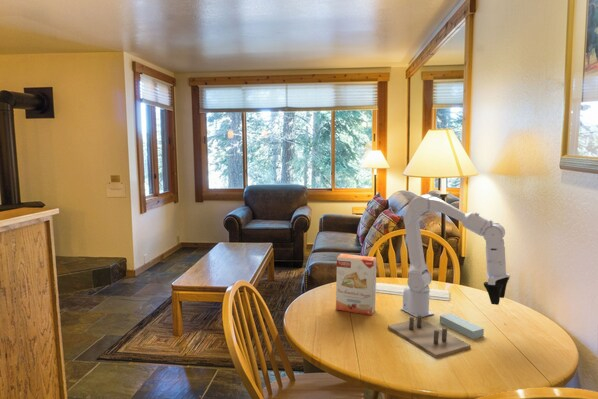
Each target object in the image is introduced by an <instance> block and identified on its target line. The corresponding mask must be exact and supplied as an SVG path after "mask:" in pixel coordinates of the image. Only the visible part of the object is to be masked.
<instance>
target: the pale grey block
mask: <svg viewBox="0 0 598 399" xmlns="http://www.w3.org/2000/svg"><path fill="white" fill-rule="evenodd" d="M439 323H440V324H442V325H443V326H445V327H447V328H449V329H452V330H454V331H455V332H457V333H460V334H461V335H463V336H465V337H467V338H469V339H470V340H476V339H479V338H482V337H484V331H485V328H484V327H482V326H480V325H477V324H475V323H473V322H471V321H469V320H467V319H464V318H462V317H459V316H457V315H455V314H453V313H451V312H449V313H445V314H441V315H439Z"/></svg>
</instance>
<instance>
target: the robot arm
mask: <svg viewBox="0 0 598 399" xmlns="http://www.w3.org/2000/svg"><path fill="white" fill-rule="evenodd" d="M439 212H440V213H441V214H443V215H446V216H448V217H450V218H453V219H455V220H457V221H459V222H461V224H462V226H463V228H465V229H467V230H469V231H470V232H473V233H474V234H475V235H478V236H480V237H483V239H484V240H485V259H486V260H485V261H486V263H485V264H486V273H485V276H486V278H487V281H484V282H483V286H484V288H485V290H486V292H487V294H488V297H489V300H490V303H491V305H496V306H497V305H498V306H499V304H500V300H501V299H504V298H505V296H506V288H507V285H508V283H509V280H510V277H511V274H510V273H507V265H506V263H507V262H506V248H505V247H506V246H505V239H504V237H505V236H506V230H505V227H504V226H502V225H501V224H500V223H498V222H494V220H493V219H492V220H491V219H490V220H488V219H487V218H484V217H482V216H480V213H478V212H468V213H466V212H464V211H462V210H461V209H459V208H457V207H455V206H453V205H452V204H450V203H448V202H447V201H444V200H443V199H440V198H439V197H437V196H433V195H431V194H429V193H426V194H422V195H417V196H414V198H412V199H411V200H410V201H409V202H408V207H407V209H406V211H405V214H404V216H403V222H404V223H403V224H404V230H405V236H406V243H407V244H406V245H407V250H408V251H407V252H408V258H409V263H410V265H409V269H408V278H407V285H406V286H407V287H406V288H405V289H404V292H403V296H402V307H400V310H402V311H404V312H406V313H407V314H409V315H411V316H412V317H414V318H417V315H421V316H422V318H423V317H428V316H432V315H434V314H435V312H433V311H431V310H430V299H429V293H430V289H431V288H430V287H429V286H430V284H431V283H432V280H433V276H432V274H431V272H430V271H429V268H428V265H427V263H426V261H425V256H424V255H425V254H424V248H423V239H422V232H421V227H420V226H421V225H420V220H421V219H422V218H423V217H424V216H425V214H427V213H439ZM429 288H430V289H429Z"/></svg>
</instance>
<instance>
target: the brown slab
mask: <svg viewBox="0 0 598 399" xmlns="http://www.w3.org/2000/svg"><path fill="white" fill-rule="evenodd" d="M447 328H448V327H447ZM447 328H446V327H442V328H439V327H437V326H435V325H433V324H431V323H429V322H427V321H425V320H423V317H422V316H421V315H417V317H416V319H415V316H409V320H406V321H402V322H399V323H394V324H390V325H387V329H388V330H390V331H391V332H393V333H394V334H396V335H398V336H400V337H401V338H403V339H404V340H406V341H407V342H409V343H410V344H412V345H414V346H416V347H417V348H419V349H420V350H422V351H423V352H425V353H427V354H428V355H430V356H432V357H433V358H435V359H438V358H441V357H442V358H443V357H445V356H449V355H453V354H456V353H458V352H462V351H466V350H468V349H469V350H470V349H471V346H472V345H471V344H469V343H468V342H466V341H464V340H462V339H460V338H458V337H456V336H454V335H452V334H450V333H449V332H448V329H447Z"/></svg>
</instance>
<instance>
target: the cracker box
mask: <svg viewBox="0 0 598 399" xmlns="http://www.w3.org/2000/svg"><path fill="white" fill-rule="evenodd" d="M377 259H378V258H377V257H376V256H367V255H366V256H365V255H357V254H347V253H340V254H339V255H338V256H336V287H335V288H336V290H335V295H336V296H335V310H337V311H343V312H347V313H348V312H350V313H355V314H361V315H367V316H372V315H373V314H374V312H375V311H376V294H377V293H376V283H377Z"/></svg>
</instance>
